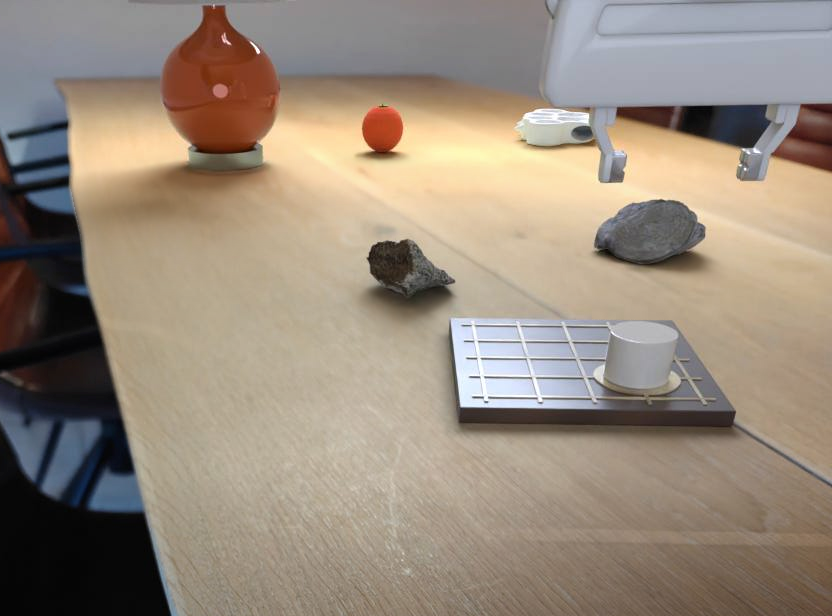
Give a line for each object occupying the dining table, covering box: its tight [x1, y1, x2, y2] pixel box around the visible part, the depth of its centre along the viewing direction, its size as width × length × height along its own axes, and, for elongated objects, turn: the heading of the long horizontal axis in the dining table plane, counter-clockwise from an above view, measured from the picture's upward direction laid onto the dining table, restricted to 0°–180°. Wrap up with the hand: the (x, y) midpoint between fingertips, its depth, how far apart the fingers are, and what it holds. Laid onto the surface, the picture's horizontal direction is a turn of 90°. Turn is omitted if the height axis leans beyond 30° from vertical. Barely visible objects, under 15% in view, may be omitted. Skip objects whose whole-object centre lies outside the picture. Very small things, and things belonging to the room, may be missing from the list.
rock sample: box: [365, 238, 456, 299], centre depth 91 cm, size 10×8×9 cm
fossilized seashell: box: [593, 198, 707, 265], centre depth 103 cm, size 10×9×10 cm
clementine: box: [361, 103, 404, 153], centre depth 152 cm, size 8×7×7 cm
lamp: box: [127, 0, 296, 171], centre depth 135 cm, size 25×25×39 cm
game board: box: [448, 317, 737, 427], centre depth 74 cm, size 20×20×1 cm
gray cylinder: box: [603, 321, 678, 389], centre depth 69 cm, size 5×5×4 cm
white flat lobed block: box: [513, 108, 595, 147], centre depth 163 cm, size 3×18×15 cm
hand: (679, 180), depth 62 cm, fingers open, 8 cm apart
